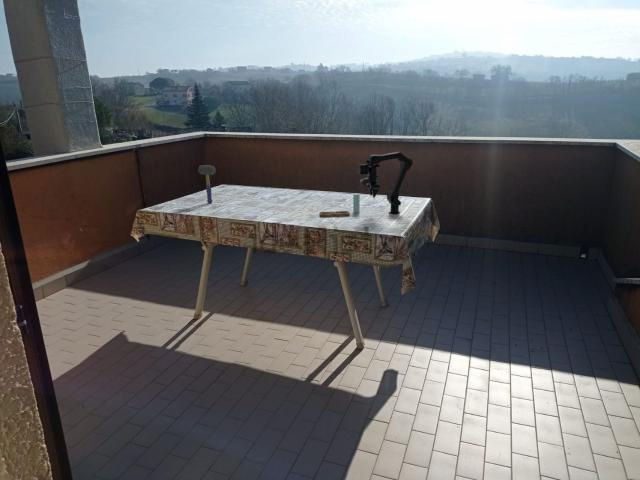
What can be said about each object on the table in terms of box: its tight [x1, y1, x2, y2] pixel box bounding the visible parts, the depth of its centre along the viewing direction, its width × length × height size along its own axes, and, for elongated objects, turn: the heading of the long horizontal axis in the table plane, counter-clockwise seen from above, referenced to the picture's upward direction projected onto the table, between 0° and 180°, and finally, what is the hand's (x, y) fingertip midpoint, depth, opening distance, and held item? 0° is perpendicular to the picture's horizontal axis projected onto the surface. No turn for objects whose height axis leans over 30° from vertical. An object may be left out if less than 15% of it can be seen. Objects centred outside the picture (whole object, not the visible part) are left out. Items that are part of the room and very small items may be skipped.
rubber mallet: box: [197, 164, 217, 204], centre depth 357 cm, size 12×8×30 cm, turn 66°
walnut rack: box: [319, 210, 351, 218], centre depth 318 cm, size 20×7×2 cm, turn 96°
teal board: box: [352, 193, 360, 214], centre depth 323 cm, size 4×2×13 cm, turn 96°
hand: (372, 196), depth 313 cm, fingers open, 9 cm apart
